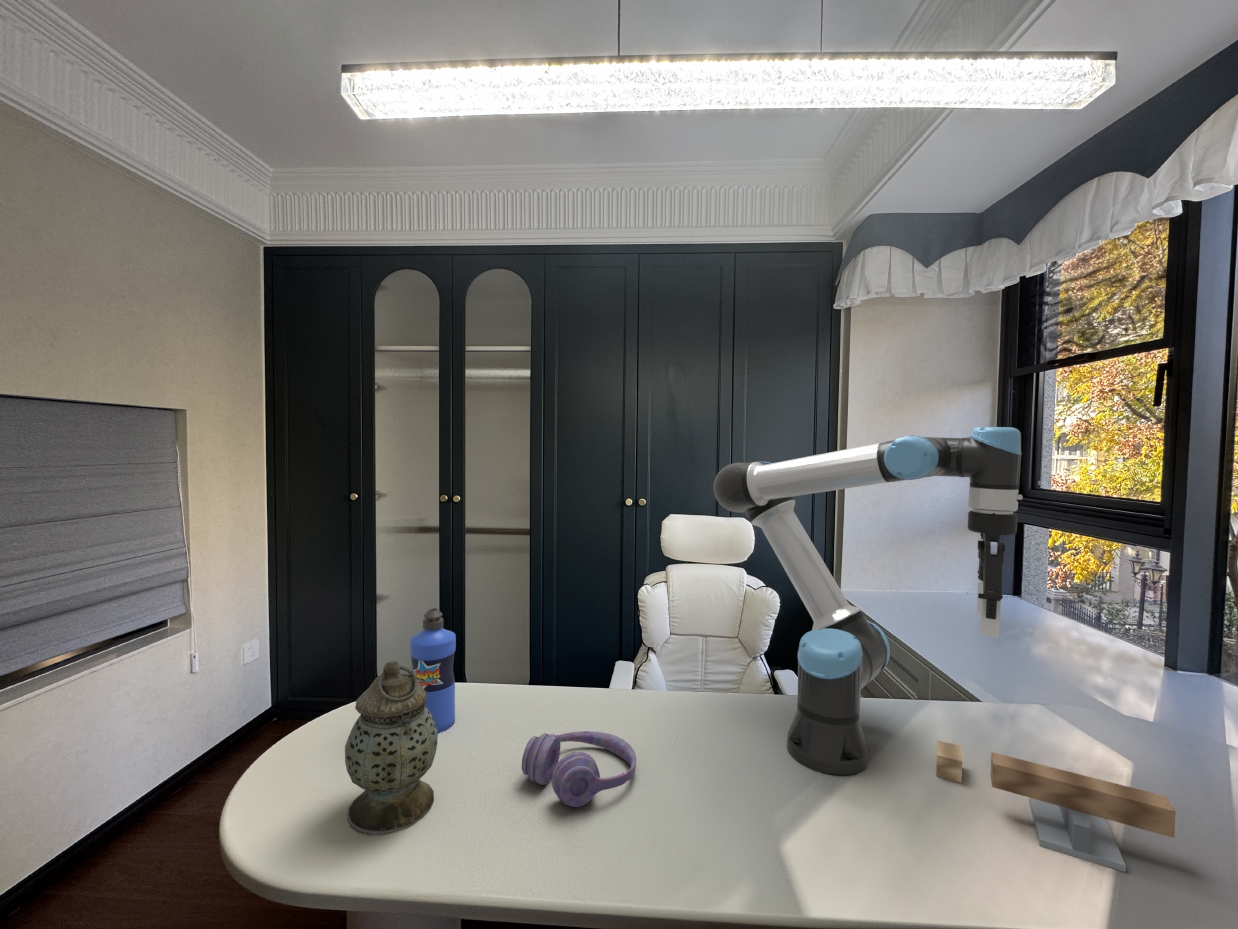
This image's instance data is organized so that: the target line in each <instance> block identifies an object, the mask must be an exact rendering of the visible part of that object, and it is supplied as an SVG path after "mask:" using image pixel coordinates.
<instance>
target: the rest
mask: <svg viewBox="0 0 1238 929" xmlns="http://www.w3.org/2000/svg"><path fill="white" fill-rule="evenodd" d="M936 744H937V746H936V770H935V771H936V772H935V773H936V775H935V776H936V777H939V778H943V779H946V780H950V781H952V782H956V783H959V784H962V781H963V780H962V779H963V778H962V777H963V751H962V750H963V747H962V745H958V744H954V743H950V742H946V741H942V740H939V739H937V742H936Z"/></svg>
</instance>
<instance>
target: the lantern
mask: <svg viewBox="0 0 1238 929" xmlns="http://www.w3.org/2000/svg"><path fill="white" fill-rule="evenodd" d="M400 670H401V671H400ZM426 700H427V693H426V691H425V690H424V689H423V688H422V687H421V686H420V685H419V684H418V681H417V678H416V676H415V674H414V673H413V670H412V669H410V668H408V667H406V666H402V665H400V663H399V662H398V661H396V660H389V661H388V662H386V663H385V664H384V666H383V671H382V672H381V674H380V675H379V676H377V677H376V678H375V679H374V680H373V681H372V683H371V684H370V685H369V687H368V688H367V689H366V690H365V691H363V693H361V695H359V697H358V698H357V699H356V700H355V707H354V709H355V710H356V711H357V713H358V714H359V716H358V718H357V719H356V721H355V722H354V724H353V726H352V727H351V730H350V733H349V735H348V738H347V740H346V743H345V745H344V762H345V768H346V769H345V770H346V771H347V774H348V776H349V778H350V780H351V783H353V785H354V784H355V785H356V786H357V787H359V788H361V789H362V790H363V792H362V793H360V794H359V795H358V796H357V797H356V798H355V799H354V800H353V801H352V802H351V803H350V805H349V806H348V808H347V822H348V824H349V827H350V828H351V829H352V830H354V831H355V832H357V833H358V834H359V833H360V834H364V835H367V836H368V835H369V836H384V835H388V834H392V833H397V832H400V831H402V830H404V829H407V828H408V827H411V826H413V825H414V824H416V823H418V822H419V821H420V820H422V819H423V818H424V817H425V816H426V815H427V814H428V813H429V812H430V811H431V809H432V807H433V804H434V803H435V802H434V801H435V795H434V794H435V793H434V792H435V791H434V790H433V788H432V787H431V785H430V784H428V783H426V782H425V781H422V780H421V778H423V777H424V776H425V774H426V773H427V772H428V771H429V770H430V769H431V767H432V765H433V762H434V759H435V757H436V753H437V749H438V733H437V727H436V725H435V722H434V719H433V717H432V715H431V713H430V711H429V710H428V709H427V708H426V706H425V702H426Z"/></svg>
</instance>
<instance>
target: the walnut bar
mask: <svg viewBox="0 0 1238 929" xmlns="http://www.w3.org/2000/svg"><path fill="white" fill-rule="evenodd" d="M990 755H991V756H990V757H991V758H990V780H991V787H992V788H995V789H998V790H1001V791H1005V792H1008V793H1012V794H1015V795H1019V796H1022V797H1026V798H1028V799H1029V798H1033V799H1036V800H1040V801H1044V802H1047V803H1051V804H1054V805H1058V806H1061V807H1065V808H1069V809H1072V810H1076V811H1079V812H1083V813H1086V814H1090V815H1094V816H1097V817H1101V818H1104V819H1106V820H1109V821H1112V822H1115V823H1119V824H1123V825H1127V826H1130V827H1133V828H1137V829H1141V830H1143V831H1144V830H1145V831H1148V832H1151V833H1155V834H1159V835H1162V836H1165V837H1169V838H1173V839H1175V829H1176V828H1175V827H1176V809H1175V808H1174V807H1173V805H1172V803H1171V802H1170V800H1169V798H1168V797H1167V795H1163V794H1159V793H1154V792H1151V791H1146V790H1144V789H1139V788H1135V787H1131V786H1127V785H1123V784H1119V783H1115V782H1111V781H1107V780H1103V779H1098V778H1094V777H1091V776H1086V775H1083V774H1081V773H1080V774H1079V773H1076V772H1071V771H1067V770H1064V769H1060V768H1055V767H1052V766H1048V765H1044V764H1040V763H1037V762H1032V761H1028V760H1025V759H1019V758H1016V757H1012V756H1007V755H1005V754H1000V753H997V752H993V751H991V754H990Z"/></svg>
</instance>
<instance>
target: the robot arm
mask: <svg viewBox="0 0 1238 929" xmlns="http://www.w3.org/2000/svg"><path fill="white" fill-rule="evenodd" d="M1021 436H1022V433H1021V432H1020V430H1019V429H1018V428H1015V427H1010V426H1009V427H1006V426H1003V427H1002V426H1000V427H999V426H995V427H994V426H993V427H992V426H990V427H989V426H987V427H985V426H983V427H982V426H981V427H975V428H973V429H972V431H971V434H970V437H969V436H968V437H936V436H935V437H932V436H931V437H930V436H920V435H919V436H918V435H906V436H901V437H899V438H897V439H893V440H889V441H884V442H876V443H872V444H867V445H866V444H865V445H861V446H857V447H851V448H846V449H842V450H835V451H831V452H824V453H821V454H820V453H819V454H813V455H809V456H804V457H799V458H793V459H788V460H784V461H778V462H773V463H772V462H769V461H764V460H763V461H761V460H759V461H752V462H734V463H731V464H728V465H725V466H724V467H722V468H721V469H720V470H719V472H718V473H717V474H716V476H715V478H714V482H713V494H714V496H715V499H716V500H717V502H718V503H719V505H720V506H721V507H723V508H724V509H726V510H727V511H730V512H732V513H733V512H734V513H745V515H746V517H747V519H748V520H749V522H750V523H751V525H752V526H755V527H758V528H760V529H761V530H762V533H763V534H764V536H765V537H766V539H767V541H768V543H769V544H770V546H771V549H773V551H774V553H775V556H776V557H777V559H778V561H779V562H780V563H781V566H782V568H783V569H784V571H785V573H786V575H787V577H788V578H789V580H790V582H791V584H792V585H793V587H794V589H795V590H796V592H797V594H798V596H799V597H800V599H801V602H803V605H804V607H805V608H806V610H807V612H808V613H809V616H810V617H811V619H812V621H813V624H812V629H811V630H810V631H808V632H806V633H805V634H803V636H802V637H801V638H800V641H799V646H798V650H797V665H798V666H797V702H796V703H797V704H796V711H795V714H794V716H793V718H792V721H791V724H790V726H789V729H788V731H787V737H786V738H787V739H786V740H787V741H786V748H787V750H788V752H789V754H790V755H791V756H792V757H793V759H794V760H796V761H798V762H799V763H800V764H802V765H804V766H805V767H807V768H810V769H812V770H814V771H817V772H821V773H823V774H824V773H825V774H830V775H839V776H840V775H841V776H848V775H854V774H857V773H861V772H862V771H864V770H865V769H866V767H867V766H868V762H869V750H868V749H869V748H868V745H867V742H866V739H865V738H866V737H865V735H864V732H863V728H862V724H861V721H860V712H861V710H860V709H861V691H862V689H863V688H864V687H865V686H866V685H868V684H869V683H870V682H871V681H872V680H874V678H877V677H879V675H881V674H882V673H883V671H884V670H885V668H886V666H887V665H888V663H889V660H890V657H891V648H890V643H889V640H888V638H887V636H886V634H885V633H884V631H883V630H882V628H881V627H879V626H878V625H877V624H875V623H874V622H871V621H869V620H868V619H867V618H866V616H865V615H864V613H863V612H862V610H861V609H860V608H859V607H856V606H853V605H851V604H850V603H849V602H848V600H847V598H846V597H845V595H844V593H843V592H842V590H841V589H840V586H839V585H838V584H837V581H836V580H835V579H834V577H833V575H832V573H831V572H830V569H829V568H828V566H827V565H826V563H825V562H824V560H823V558H822V556H821V554H820V553H819V552H818V549H817V548H816V547H815V545H814V543H813V542H812V540H811V539H810V537H809V536H810V535H808V533H807V531H806V530H805V528H804V526H803V525H802V523H801V522H800V519H799V518H798V516H797V514H796V513H795V511H794V509H795V505H796V500H795V499H794V497H798V496H803V495H804V496H805V495H811V494H818V493H825V492H831V491H839V490H845V489H852V488H859V487H867V486H872V485H879V484H886V483H895V482H896V483H897V482H901V481H902V482H903V481H915V480H920V479H923V478H929V477H952V478H954V477H957V478H969V487H968V502H967V503H968V504H967V507H969V509H970V510H969V511H968V513H967V529H968V531H971V532H973V533H977V534H979V535H980V539H979V540H977V550H978V552H977V554H978V555H977V556H978V560H979V562H978V570H977V573H978V575H977V579H978V581H977V596H976V597H977V598H976V615H980V623H979V624H980V625H979V628H980V629H979V634H980V636H985V637H991V638H998V639H999V637H1000V625H1001V624H1000V621H1001V604H1002V603H1001V601H1002V600H1003V594H1002V593H1003V591H1002V590H1003V565H1004V554H1005V549H1006V545H1005V544H1004V542H1002V541H1001V536H1013V535H1016V534H1017V532H1018V515H1017V513H1014V512H1017V511H1018V510H1019V509H1018V507H1019V501H1022V500H1023V499H1024V498H1023V495H1022V494H1019V489H1020V477H1021V476H1020V475H1021V462H1022V437H1021ZM1018 500H1019V501H1018Z"/></svg>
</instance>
